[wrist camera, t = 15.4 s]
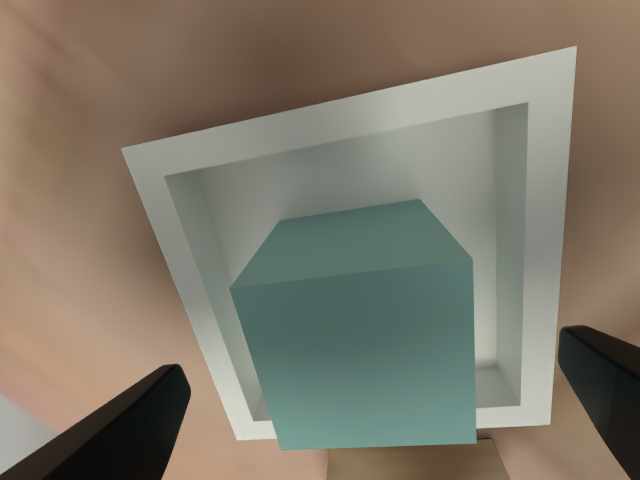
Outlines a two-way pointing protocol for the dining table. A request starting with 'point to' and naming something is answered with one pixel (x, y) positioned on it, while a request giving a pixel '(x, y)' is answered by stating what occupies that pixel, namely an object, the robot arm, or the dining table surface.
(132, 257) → the dining table surface
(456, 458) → the hollow square frame
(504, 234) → the tray
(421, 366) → the block
